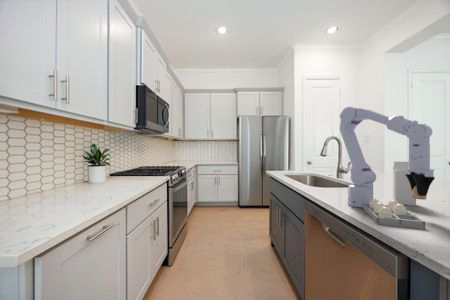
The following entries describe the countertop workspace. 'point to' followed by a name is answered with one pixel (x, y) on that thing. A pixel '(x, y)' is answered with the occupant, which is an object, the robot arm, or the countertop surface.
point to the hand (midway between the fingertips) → (419, 194)
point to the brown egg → (415, 194)
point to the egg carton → (395, 218)
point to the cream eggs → (387, 208)
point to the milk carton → (402, 184)
